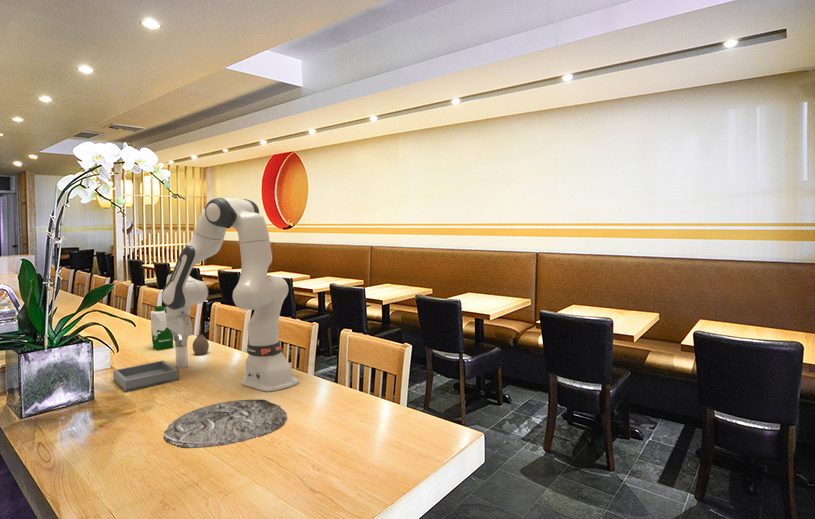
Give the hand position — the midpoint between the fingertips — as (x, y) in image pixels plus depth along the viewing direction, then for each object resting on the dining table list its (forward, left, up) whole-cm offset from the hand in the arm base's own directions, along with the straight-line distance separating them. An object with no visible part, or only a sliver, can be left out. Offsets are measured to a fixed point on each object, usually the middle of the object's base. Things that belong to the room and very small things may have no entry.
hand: (180, 342), depth 199 cm
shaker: (0, 0, -10) cm, 10 cm away
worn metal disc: (-69, +10, -11) cm, 70 cm away
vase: (+14, -13, -10) cm, 22 cm away
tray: (-8, +16, -10) cm, 21 cm away
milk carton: (+38, -4, -10) cm, 39 cm away
